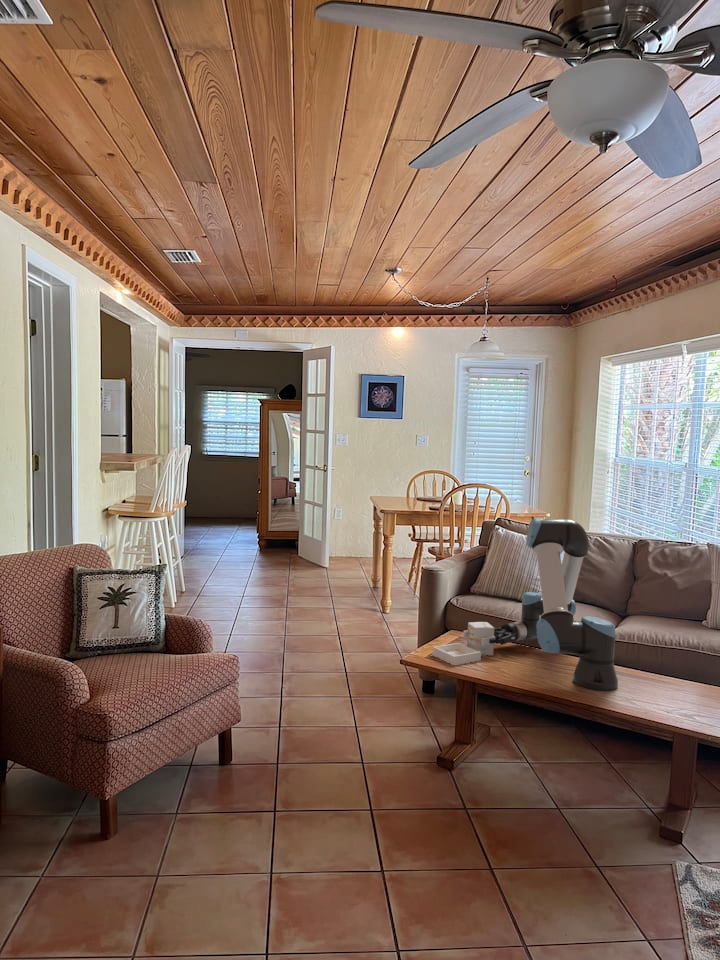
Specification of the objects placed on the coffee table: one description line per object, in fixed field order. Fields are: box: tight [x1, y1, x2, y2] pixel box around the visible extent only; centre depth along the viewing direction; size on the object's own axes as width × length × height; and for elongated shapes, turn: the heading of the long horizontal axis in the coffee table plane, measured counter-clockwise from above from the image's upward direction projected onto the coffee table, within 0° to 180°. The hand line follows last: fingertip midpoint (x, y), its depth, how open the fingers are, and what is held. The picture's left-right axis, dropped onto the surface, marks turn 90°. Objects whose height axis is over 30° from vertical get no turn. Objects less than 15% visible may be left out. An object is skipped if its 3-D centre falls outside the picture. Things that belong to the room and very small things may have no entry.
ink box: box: [466, 621, 495, 657], centre depth 267 cm, size 9×8×12 cm
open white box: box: [432, 642, 482, 666], centre depth 259 cm, size 13×14×4 cm
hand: (472, 638), depth 265 cm, fingers closed on ink box, 10 cm apart
